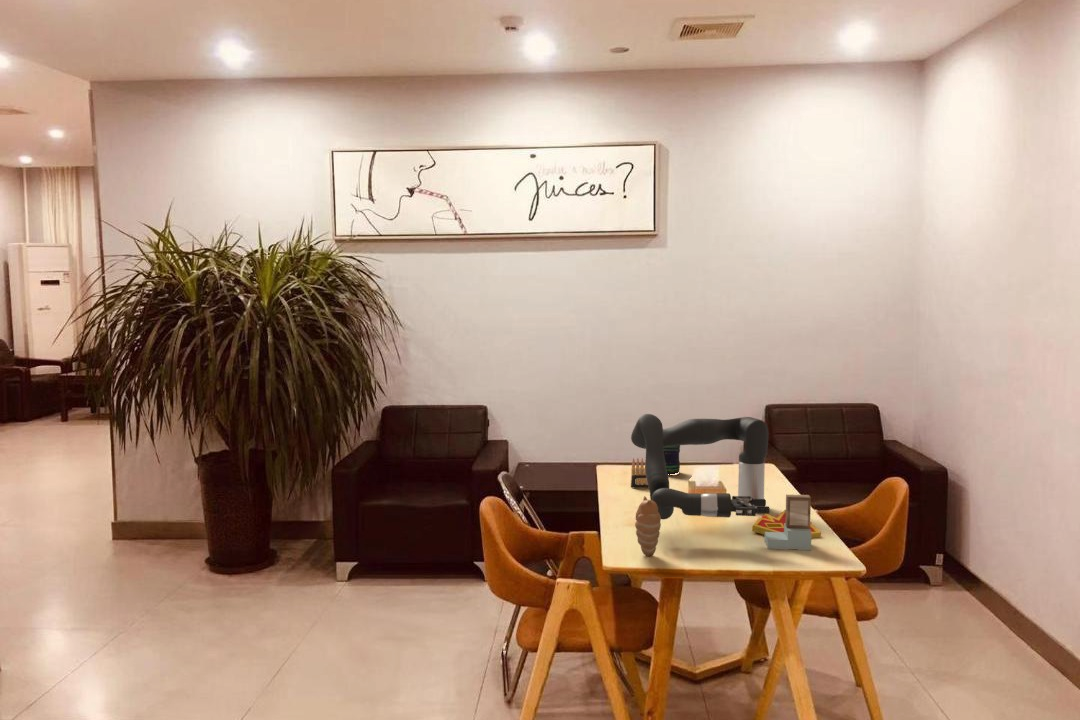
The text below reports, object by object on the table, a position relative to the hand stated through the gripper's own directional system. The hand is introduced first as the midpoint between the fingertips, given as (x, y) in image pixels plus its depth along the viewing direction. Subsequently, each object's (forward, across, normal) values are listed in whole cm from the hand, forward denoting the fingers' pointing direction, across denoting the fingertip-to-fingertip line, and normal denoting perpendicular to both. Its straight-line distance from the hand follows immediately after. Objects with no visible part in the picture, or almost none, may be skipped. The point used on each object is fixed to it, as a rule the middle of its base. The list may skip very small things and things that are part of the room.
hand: (767, 506), depth 270 cm
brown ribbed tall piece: (-37, +15, -12) cm, 42 cm away
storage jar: (-29, -95, -13) cm, 100 cm away
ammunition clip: (-39, -70, -13) cm, 81 cm away
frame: (+9, 0, -6) cm, 11 cm away
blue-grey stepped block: (+6, 0, -12) cm, 14 cm away
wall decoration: (+9, -21, -14) cm, 26 cm away
